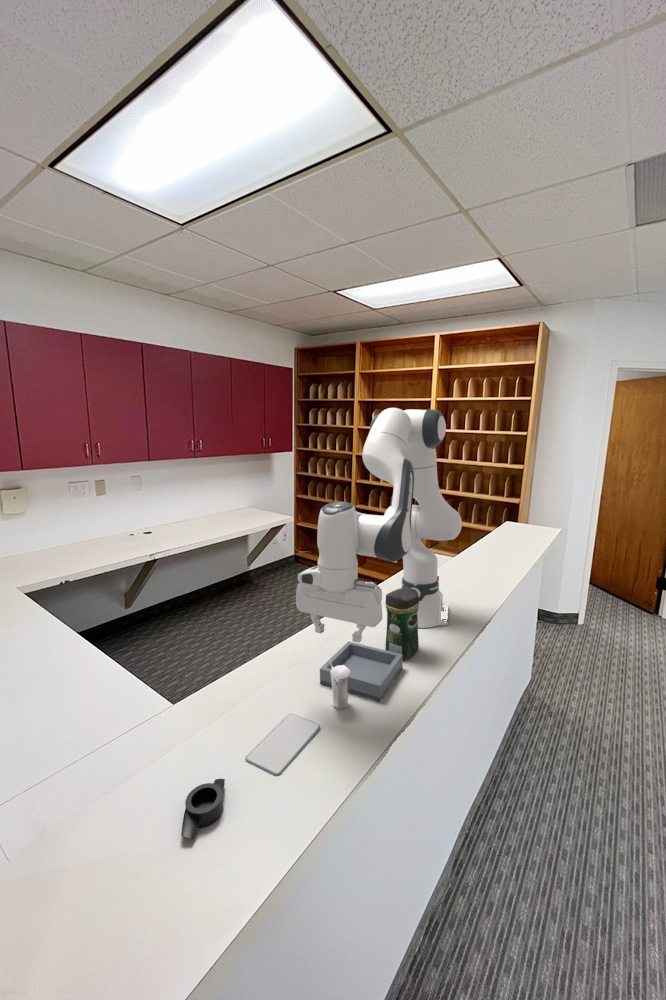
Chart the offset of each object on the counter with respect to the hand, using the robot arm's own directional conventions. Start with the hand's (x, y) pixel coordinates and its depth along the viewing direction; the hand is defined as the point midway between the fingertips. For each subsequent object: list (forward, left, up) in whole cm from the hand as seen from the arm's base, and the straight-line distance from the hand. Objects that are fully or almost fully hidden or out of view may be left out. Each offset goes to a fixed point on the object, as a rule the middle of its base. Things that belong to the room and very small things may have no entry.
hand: (337, 636), depth 92 cm
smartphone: (+16, -4, -17) cm, 24 cm away
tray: (-13, 0, -17) cm, 21 cm away
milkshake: (0, 0, -17) cm, 17 cm away
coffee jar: (-29, +5, -17) cm, 34 cm away
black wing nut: (+35, -6, -17) cm, 39 cm away
